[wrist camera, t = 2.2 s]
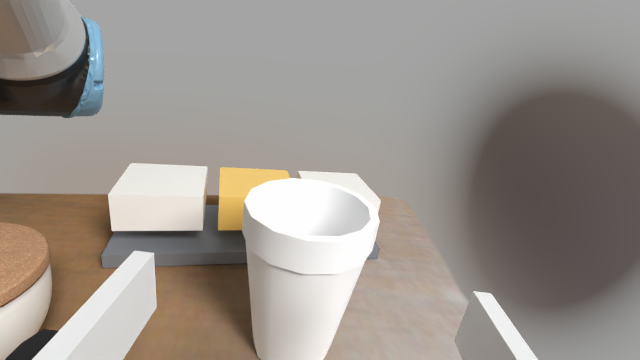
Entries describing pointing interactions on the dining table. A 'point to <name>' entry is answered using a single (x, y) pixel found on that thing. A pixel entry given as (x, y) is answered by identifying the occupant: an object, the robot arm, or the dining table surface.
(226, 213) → the amber key
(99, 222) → the dining table surface
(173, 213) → the key
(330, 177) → the key
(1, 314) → the lidded jar
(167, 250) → the keypad base
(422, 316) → the dining table surface
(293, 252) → the foam cup
